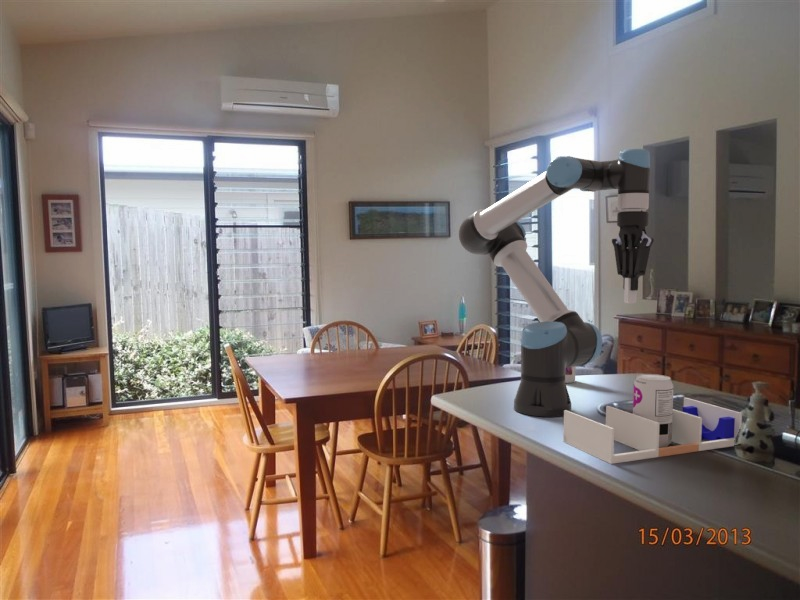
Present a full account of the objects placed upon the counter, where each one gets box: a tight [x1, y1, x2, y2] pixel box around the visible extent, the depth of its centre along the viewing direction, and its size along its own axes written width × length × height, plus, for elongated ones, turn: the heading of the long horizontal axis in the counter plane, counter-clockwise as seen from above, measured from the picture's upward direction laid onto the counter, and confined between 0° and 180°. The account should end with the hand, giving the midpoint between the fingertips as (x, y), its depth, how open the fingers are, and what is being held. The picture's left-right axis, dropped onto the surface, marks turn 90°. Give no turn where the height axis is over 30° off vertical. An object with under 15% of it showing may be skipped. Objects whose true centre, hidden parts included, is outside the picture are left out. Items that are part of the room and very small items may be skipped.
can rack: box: [562, 397, 743, 465], centre depth 142 cm, size 35×16×7 cm, turn 111°
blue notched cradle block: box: [682, 406, 735, 441], centre depth 147 cm, size 12×4×6 cm, turn 21°
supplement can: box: [632, 373, 674, 448], centre depth 142 cm, size 8×8×15 cm
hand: (630, 303), depth 165 cm, fingers closed
